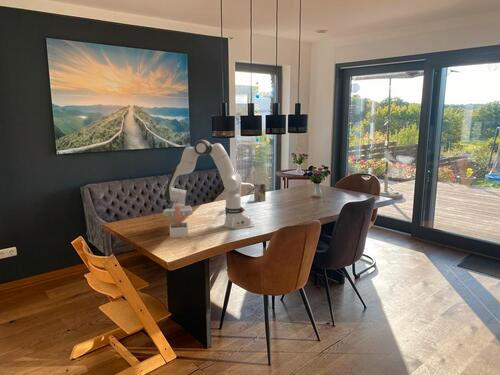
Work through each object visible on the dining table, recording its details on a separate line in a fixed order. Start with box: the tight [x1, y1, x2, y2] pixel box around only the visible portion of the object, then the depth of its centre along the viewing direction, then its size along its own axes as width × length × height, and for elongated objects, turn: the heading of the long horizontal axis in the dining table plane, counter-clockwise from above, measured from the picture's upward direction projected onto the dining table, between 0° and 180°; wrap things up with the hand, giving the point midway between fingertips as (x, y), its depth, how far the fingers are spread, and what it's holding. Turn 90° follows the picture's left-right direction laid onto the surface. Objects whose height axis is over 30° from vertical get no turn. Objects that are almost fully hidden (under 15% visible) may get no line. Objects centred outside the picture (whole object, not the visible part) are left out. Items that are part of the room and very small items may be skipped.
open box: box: [169, 222, 189, 239], centre depth 266 cm, size 12×12×7 cm
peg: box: [174, 206, 182, 227], centre depth 264 cm, size 4×4×14 cm
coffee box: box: [253, 183, 266, 203], centre depth 364 cm, size 9×6×16 cm
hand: (178, 215), depth 263 cm, fingers closed on peg, 4 cm apart
